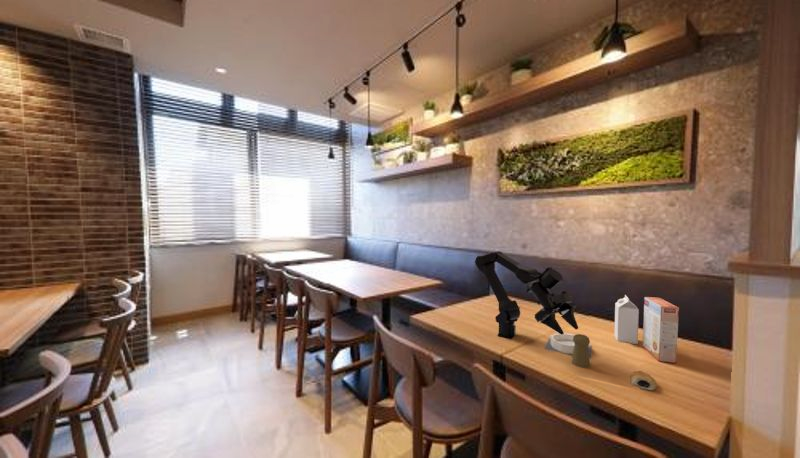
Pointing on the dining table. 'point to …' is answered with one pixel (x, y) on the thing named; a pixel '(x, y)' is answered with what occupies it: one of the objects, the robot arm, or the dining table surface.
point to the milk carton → (626, 321)
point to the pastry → (643, 380)
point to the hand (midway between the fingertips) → (570, 331)
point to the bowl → (563, 342)
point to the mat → (548, 347)
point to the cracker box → (660, 329)
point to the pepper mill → (581, 351)
